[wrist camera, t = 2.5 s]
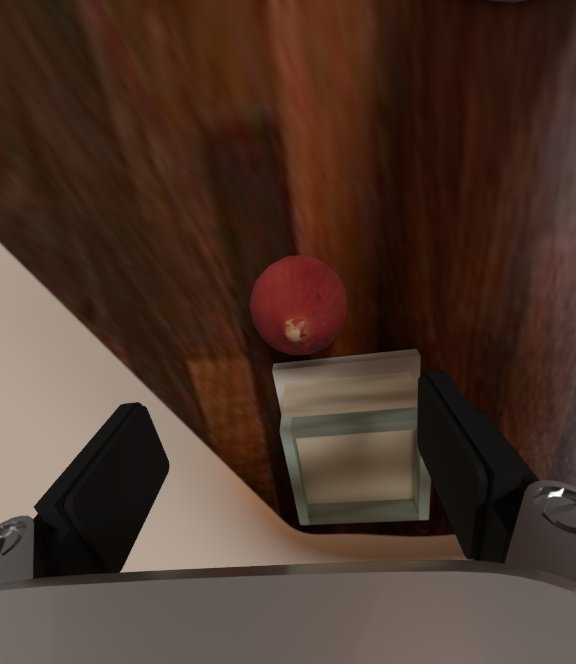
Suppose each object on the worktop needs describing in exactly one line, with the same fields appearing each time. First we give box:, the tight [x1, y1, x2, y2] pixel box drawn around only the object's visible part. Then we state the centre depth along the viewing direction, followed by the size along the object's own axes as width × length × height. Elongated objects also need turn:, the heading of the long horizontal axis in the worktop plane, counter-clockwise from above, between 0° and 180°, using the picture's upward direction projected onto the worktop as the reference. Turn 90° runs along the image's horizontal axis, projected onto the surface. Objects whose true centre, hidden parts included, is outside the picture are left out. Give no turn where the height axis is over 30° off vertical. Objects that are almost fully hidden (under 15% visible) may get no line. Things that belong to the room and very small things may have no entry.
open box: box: [272, 349, 431, 525], centre depth 24 cm, size 12×11×6 cm
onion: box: [250, 255, 348, 355], centre depth 19 cm, size 6×6×8 cm
